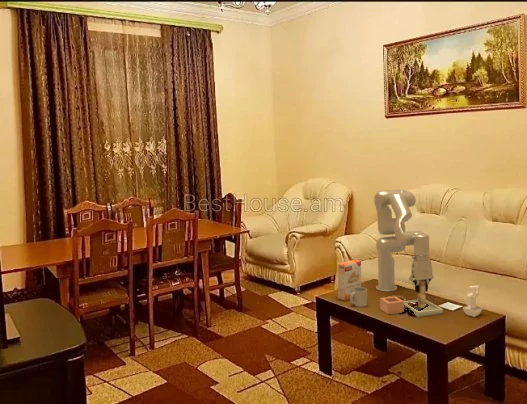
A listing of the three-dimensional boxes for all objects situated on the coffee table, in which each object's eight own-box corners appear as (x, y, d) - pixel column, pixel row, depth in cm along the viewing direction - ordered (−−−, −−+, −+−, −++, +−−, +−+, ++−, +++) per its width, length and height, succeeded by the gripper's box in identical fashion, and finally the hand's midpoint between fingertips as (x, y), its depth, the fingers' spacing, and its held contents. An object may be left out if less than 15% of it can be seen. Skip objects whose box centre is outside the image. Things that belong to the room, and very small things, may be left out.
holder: (380, 308, 274) (380, 298, 273) (395, 307, 276) (395, 296, 275) (388, 314, 265) (388, 303, 264) (403, 312, 267) (403, 301, 267)
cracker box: (345, 301, 288) (344, 265, 286) (337, 299, 293) (337, 263, 290) (361, 295, 297) (361, 260, 294) (354, 293, 302) (353, 259, 299)
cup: (369, 305, 280) (369, 290, 279) (353, 308, 276) (353, 292, 275) (362, 302, 286) (362, 286, 285) (346, 304, 283) (346, 289, 282)
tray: (401, 306, 277) (401, 301, 277) (424, 303, 280) (424, 298, 280) (418, 317, 260) (418, 312, 260) (443, 313, 263) (443, 309, 263)
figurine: (461, 315, 260) (461, 286, 258) (470, 310, 266) (471, 282, 264) (474, 318, 254) (474, 289, 252) (484, 314, 260) (484, 285, 258)
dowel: (416, 305, 271) (416, 280, 270) (422, 304, 272) (422, 279, 270) (420, 308, 268) (420, 282, 266) (426, 307, 268) (427, 281, 267)
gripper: (410, 260, 261) (410, 295, 263) (439, 257, 265) (439, 291, 267) (403, 257, 268) (403, 291, 271) (432, 254, 272) (431, 287, 274)
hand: (421, 291), depth 269 cm, fingers closed on dowel, 4 cm apart
